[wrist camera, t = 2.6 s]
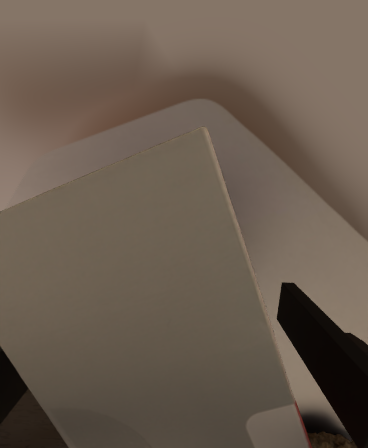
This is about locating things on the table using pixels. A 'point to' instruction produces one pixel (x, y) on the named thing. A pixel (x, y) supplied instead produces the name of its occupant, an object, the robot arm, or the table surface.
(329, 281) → the table surface
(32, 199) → the hard drive box
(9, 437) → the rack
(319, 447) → the mineral specimen
